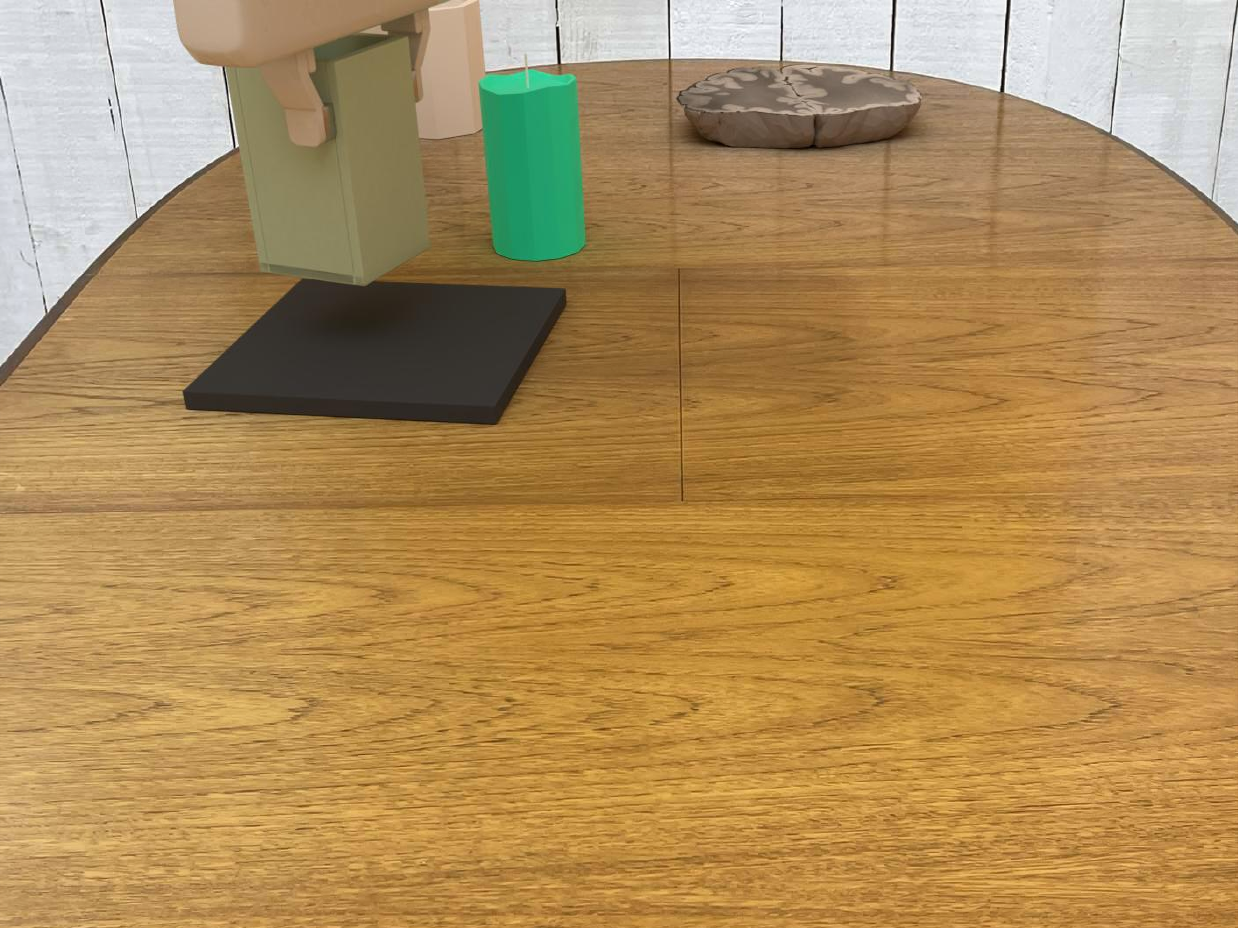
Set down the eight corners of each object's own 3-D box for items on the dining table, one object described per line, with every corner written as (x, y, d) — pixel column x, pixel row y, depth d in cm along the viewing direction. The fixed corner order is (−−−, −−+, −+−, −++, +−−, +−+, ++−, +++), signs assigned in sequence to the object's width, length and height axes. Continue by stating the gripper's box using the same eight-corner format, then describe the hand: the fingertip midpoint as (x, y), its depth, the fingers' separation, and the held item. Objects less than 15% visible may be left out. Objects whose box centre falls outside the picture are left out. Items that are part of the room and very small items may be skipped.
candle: (602, 249, 91) (592, 56, 85) (516, 267, 89) (500, 69, 82) (560, 224, 96) (548, 39, 90) (478, 240, 93) (460, 51, 87)
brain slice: (883, 95, 125) (885, 60, 124) (937, 147, 111) (940, 108, 109) (662, 105, 123) (661, 70, 122) (687, 160, 109) (687, 120, 107)
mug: (492, 111, 122) (482, -10, 117) (486, 138, 115) (475, 10, 110) (351, 115, 121) (334, -6, 117) (336, 142, 114) (317, 14, 109)
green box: (222, 52, 68) (335, 62, 66) (301, 28, 73) (408, 36, 71) (259, 271, 74) (365, 287, 72) (331, 234, 79) (431, 247, 77)
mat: (185, 409, 71) (181, 391, 71) (304, 294, 85) (301, 278, 84) (496, 424, 69) (494, 406, 69) (566, 304, 83) (565, 287, 83)
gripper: (230, -166, 55) (287, 187, 62) (490, -201, 71) (513, 82, 78) (100, -169, 57) (170, 173, 64) (382, -202, 73) (413, 74, 80)
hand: (361, 122), depth 71 cm, fingers closed on green box, 6 cm apart
